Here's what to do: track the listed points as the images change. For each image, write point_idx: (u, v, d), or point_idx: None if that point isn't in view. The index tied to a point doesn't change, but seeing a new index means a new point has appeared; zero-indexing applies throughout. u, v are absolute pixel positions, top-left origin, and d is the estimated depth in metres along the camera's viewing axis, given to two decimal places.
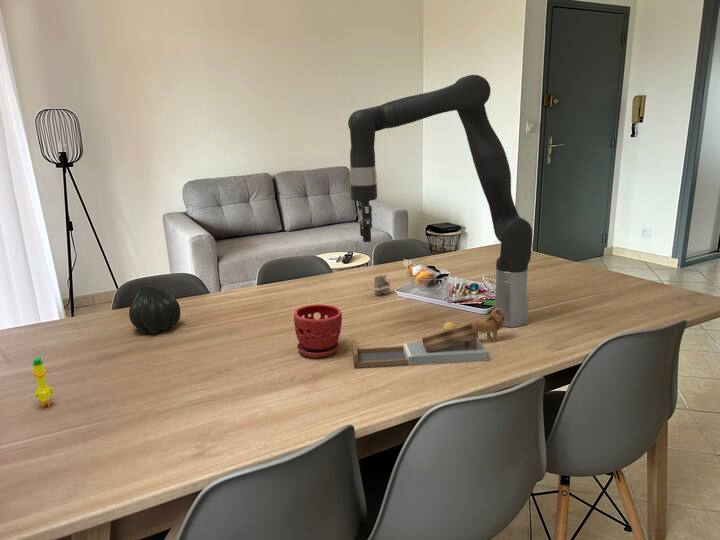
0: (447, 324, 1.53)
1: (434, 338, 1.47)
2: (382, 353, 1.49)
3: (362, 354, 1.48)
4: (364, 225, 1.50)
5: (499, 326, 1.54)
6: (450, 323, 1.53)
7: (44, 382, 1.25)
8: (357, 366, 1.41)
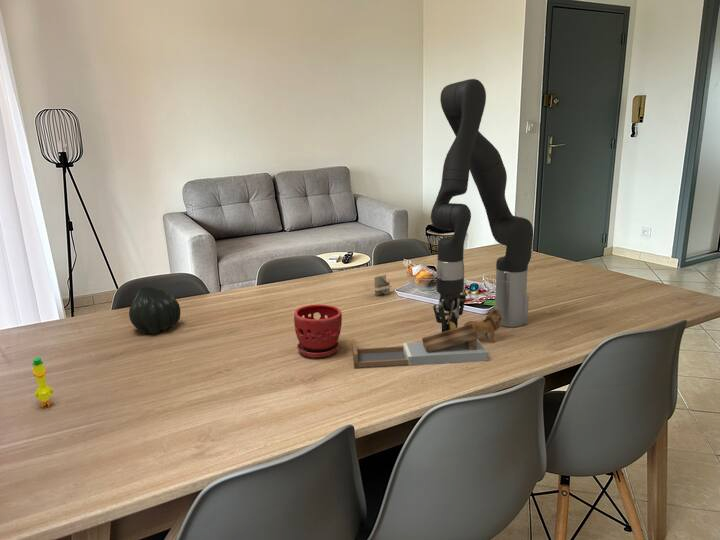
0: None
1: (434, 338, 1.47)
2: (382, 353, 1.49)
3: (362, 354, 1.48)
4: None
5: (496, 327, 1.53)
6: (450, 323, 1.53)
7: (44, 382, 1.25)
8: (357, 366, 1.41)
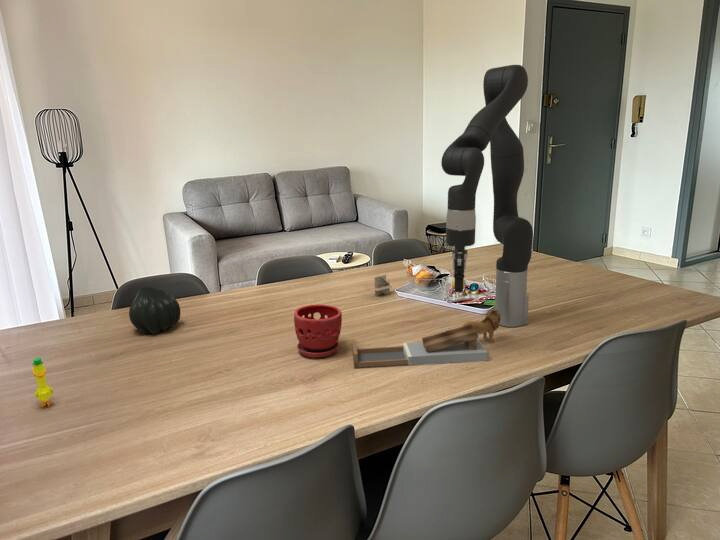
0: None
1: (434, 338, 1.47)
2: (382, 353, 1.49)
3: (362, 354, 1.48)
4: None
5: (495, 327, 1.53)
6: None
7: (44, 382, 1.25)
8: (357, 366, 1.41)
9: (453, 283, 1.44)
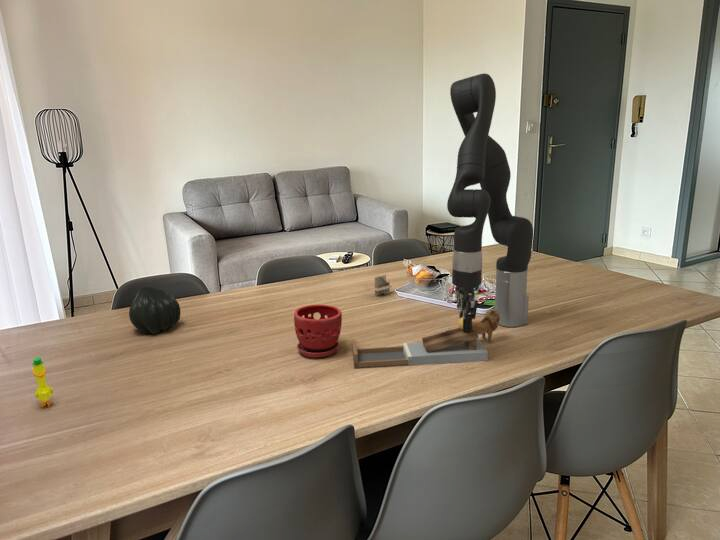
0: None
1: (434, 338, 1.47)
2: (382, 353, 1.49)
3: (362, 354, 1.48)
4: None
5: (494, 327, 1.53)
6: None
7: (44, 382, 1.25)
8: (357, 366, 1.41)
9: (461, 323, 1.43)
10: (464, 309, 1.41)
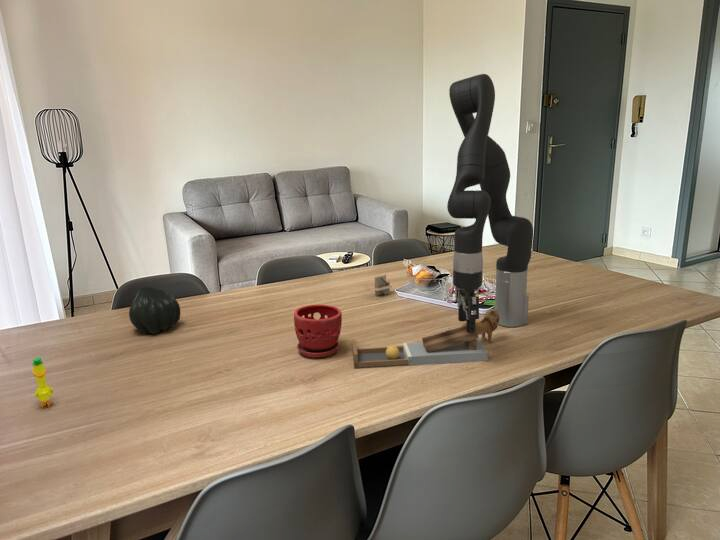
0: None
1: (434, 338, 1.47)
2: (382, 353, 1.49)
3: (362, 354, 1.48)
4: None
5: (494, 327, 1.53)
6: None
7: (44, 382, 1.25)
8: (357, 366, 1.41)
9: None
10: (466, 308, 1.39)
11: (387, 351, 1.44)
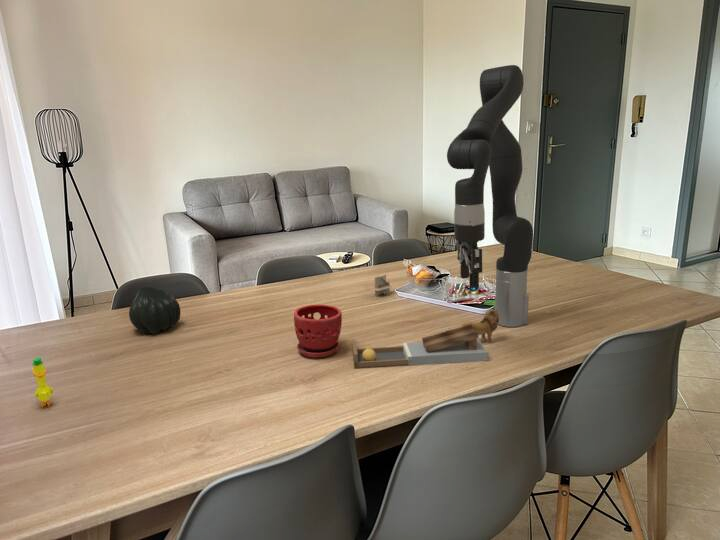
0: (362, 356, 1.43)
1: (434, 338, 1.47)
2: (382, 353, 1.49)
3: None
4: None
5: (493, 327, 1.53)
6: (362, 353, 1.43)
7: (44, 382, 1.25)
8: (357, 366, 1.41)
9: None
10: (469, 262, 1.36)
11: (375, 356, 1.43)
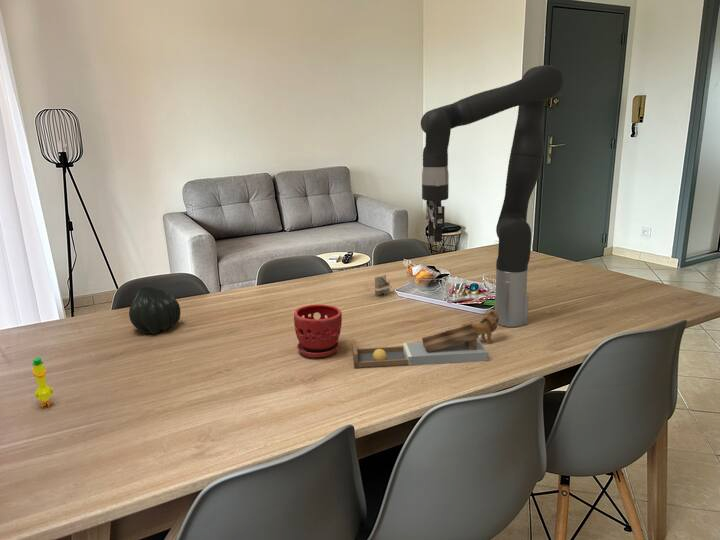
0: (378, 349, 1.42)
1: (434, 338, 1.47)
2: None
3: (362, 354, 1.48)
4: None
5: (493, 328, 1.52)
6: (381, 350, 1.42)
7: (44, 382, 1.25)
8: (357, 366, 1.41)
9: None
10: (434, 219, 1.53)
11: None
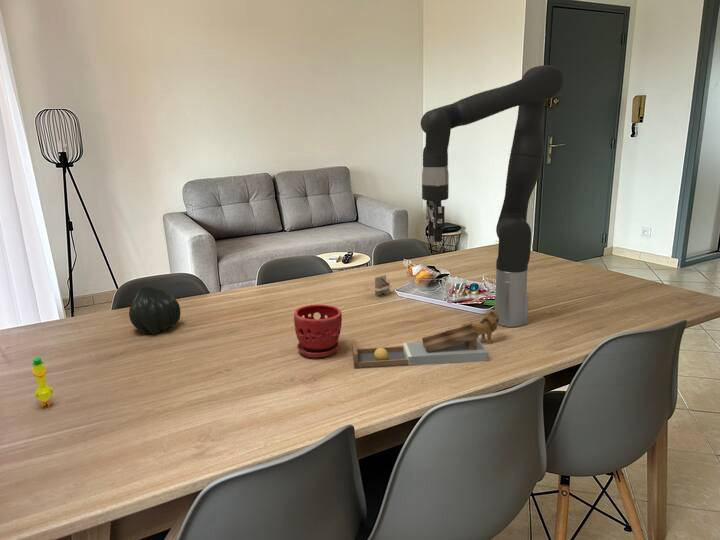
0: None
1: (434, 338, 1.47)
2: None
3: (362, 354, 1.48)
4: None
5: (493, 328, 1.52)
6: (384, 349, 1.44)
7: (44, 382, 1.25)
8: (357, 366, 1.41)
9: None
10: (434, 219, 1.53)
11: None
